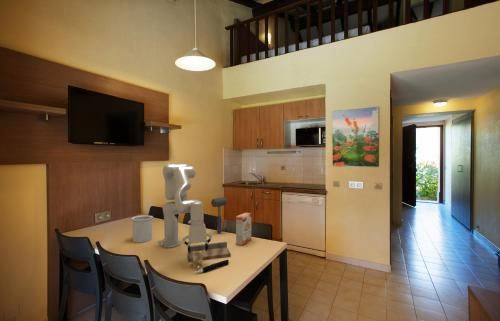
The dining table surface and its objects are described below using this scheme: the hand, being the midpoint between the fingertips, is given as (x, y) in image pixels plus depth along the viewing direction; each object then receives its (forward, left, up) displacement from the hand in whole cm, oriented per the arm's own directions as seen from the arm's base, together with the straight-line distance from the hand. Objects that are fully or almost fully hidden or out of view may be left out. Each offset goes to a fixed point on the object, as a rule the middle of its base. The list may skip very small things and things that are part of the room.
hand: (197, 251), depth 139 cm
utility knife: (+7, -7, -9) cm, 13 cm away
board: (+8, +13, -8) cm, 17 cm away
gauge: (0, -2, -8) cm, 8 cm away
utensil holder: (-38, +59, -8) cm, 70 cm away
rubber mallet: (+22, +56, -8) cm, 60 cm away
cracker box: (+36, +28, -8) cm, 46 cm away
